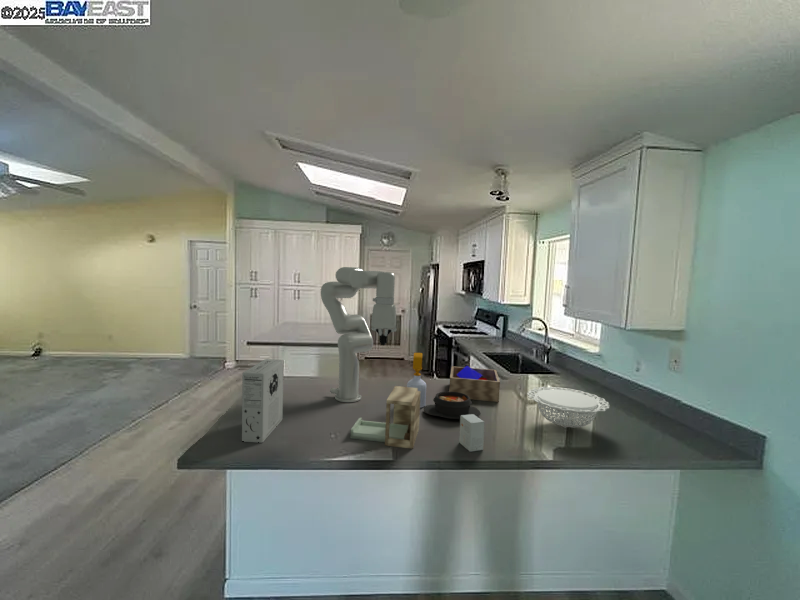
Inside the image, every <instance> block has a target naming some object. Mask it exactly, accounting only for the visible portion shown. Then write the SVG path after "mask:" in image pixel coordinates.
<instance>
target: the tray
mask: <svg viewBox="0 0 800 600" xmlns="http://www.w3.org/2000/svg"><path fill="white" fill-rule="evenodd" d="M385 429H386V422H383V421H382V422H380V421H370V420H364V419H363V417H358V419H357V420H356V421H355V423H354V425H353V426H352V427H351V428H350V439H352V440H353V439H354V440H362V441H371V442H380V443H385ZM405 433H408V425H401V424H393V423H392V422H391V423H390V427H389V438H394V439H403V440H404V436H405Z"/></svg>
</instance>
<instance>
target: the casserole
mask: <svg viewBox="0 0 800 600" xmlns="http://www.w3.org/2000/svg"><path fill="white" fill-rule="evenodd" d="M432 400H433V402H434V404H427V405H425V406H424V407H423V411H424V412H425V413H426V414H428V415H430V416H434V417H441V418H444V419H448V420H460V416H461V415H470V414H474V415H475V416H477V417H479V416H481V411H480V410H479V409H478V408H476V407H475V406H472V405H473V404H472V403H473V402H472V401H471V399H470V397H469V396H467V395H466V394H463V393H459V392H450V391H441V392H437V393H436V394H435V396H434V397H433V399H432Z"/></svg>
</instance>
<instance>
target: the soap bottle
mask: <svg viewBox="0 0 800 600" xmlns="http://www.w3.org/2000/svg"><path fill="white" fill-rule="evenodd" d="M412 369H413V370H414V372H415V373H413V378H411V379H409V381H407V383H406V387H412V388H418V391H421V393H420V409H422V408H424V407H425V406H427V405H426V403H427V400H426V399H427V383H426V382H425V380H424V379H422V378H421V376H422V374H421V373H420V371H422V369H423V353H422V352H414V353H413V358H412Z"/></svg>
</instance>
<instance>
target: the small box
mask: <svg viewBox="0 0 800 600" xmlns="http://www.w3.org/2000/svg"><path fill="white" fill-rule="evenodd" d="M484 439H485V421H484V420H482V419H481V418H480V417H479V416H475V415H474V414H470V415H461V416H460V419H459V441H458V443H460V445H462V447H464V448H465V449H466V450H468V452H477V451H483V450H484V444H485V443H484V442H485V441H484Z"/></svg>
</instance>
